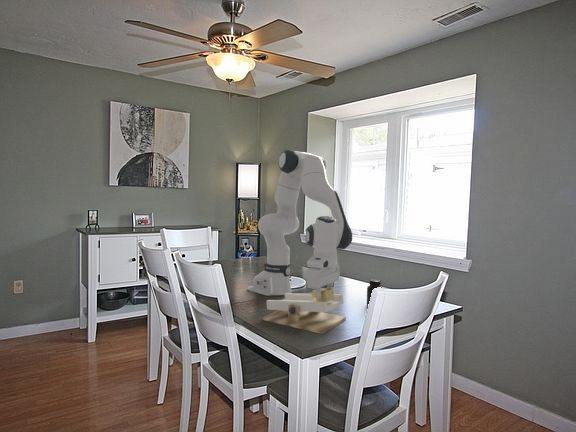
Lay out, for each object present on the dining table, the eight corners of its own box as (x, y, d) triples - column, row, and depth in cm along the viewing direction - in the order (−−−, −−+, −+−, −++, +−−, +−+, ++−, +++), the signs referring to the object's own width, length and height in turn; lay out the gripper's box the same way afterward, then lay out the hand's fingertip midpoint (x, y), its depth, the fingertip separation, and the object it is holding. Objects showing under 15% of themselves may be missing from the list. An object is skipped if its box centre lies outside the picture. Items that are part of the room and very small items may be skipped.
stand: (262, 319, 154) (262, 300, 154) (289, 307, 171) (290, 290, 170) (322, 334, 140) (323, 313, 140) (345, 319, 157) (346, 300, 157)
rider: (312, 301, 150) (311, 291, 150) (320, 298, 155) (319, 288, 155) (327, 302, 147) (326, 291, 147) (334, 298, 152) (333, 288, 152)
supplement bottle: (370, 303, 181) (372, 277, 180) (384, 307, 176) (386, 280, 176) (363, 307, 175) (364, 280, 175) (377, 310, 171) (378, 282, 170)
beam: (267, 309, 156) (266, 300, 156) (286, 301, 168) (286, 293, 168) (326, 312, 142) (325, 302, 142) (343, 303, 154) (342, 294, 154)
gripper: (329, 255, 160) (328, 289, 161) (304, 262, 143) (303, 300, 144) (344, 257, 157) (342, 291, 158) (320, 264, 140) (318, 303, 141)
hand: (323, 296), depth 151 cm, fingers closed on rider, 6 cm apart
